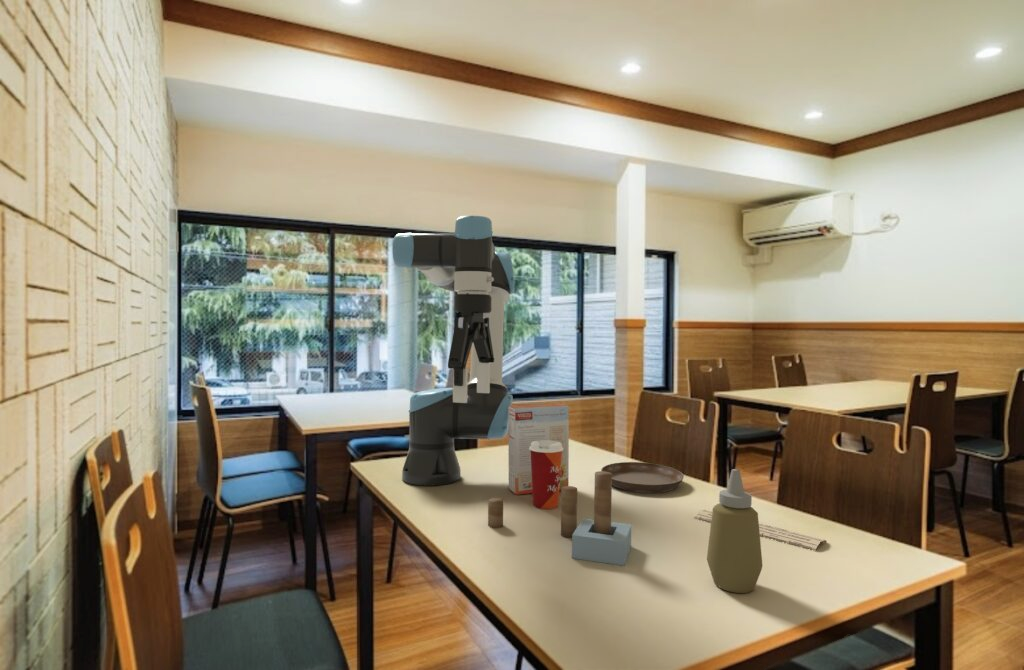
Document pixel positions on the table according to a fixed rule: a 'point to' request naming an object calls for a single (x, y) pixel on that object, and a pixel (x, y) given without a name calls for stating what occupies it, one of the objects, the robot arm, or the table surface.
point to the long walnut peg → (602, 502)
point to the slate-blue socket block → (601, 543)
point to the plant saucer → (643, 477)
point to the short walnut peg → (495, 513)
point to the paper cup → (546, 473)
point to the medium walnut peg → (568, 511)
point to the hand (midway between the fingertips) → (472, 397)
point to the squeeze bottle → (734, 539)
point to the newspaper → (775, 533)
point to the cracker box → (530, 427)
